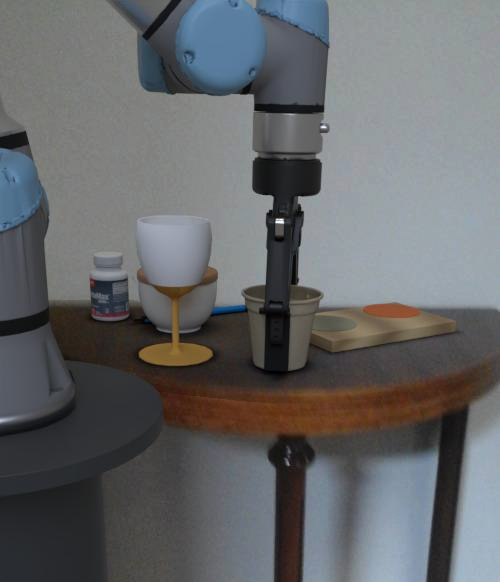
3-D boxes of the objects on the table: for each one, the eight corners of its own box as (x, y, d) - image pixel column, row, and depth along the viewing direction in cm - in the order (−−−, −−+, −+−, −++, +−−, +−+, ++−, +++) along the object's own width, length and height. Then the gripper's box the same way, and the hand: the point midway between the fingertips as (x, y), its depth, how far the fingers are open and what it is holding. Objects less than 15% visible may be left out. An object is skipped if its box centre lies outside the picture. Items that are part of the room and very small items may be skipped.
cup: (123, 359, 99) (117, 221, 93) (164, 341, 107) (161, 212, 100) (189, 370, 96) (187, 228, 89) (226, 351, 103) (227, 218, 97)
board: (332, 352, 103) (332, 340, 103) (276, 329, 113) (276, 317, 112) (455, 331, 113) (456, 320, 113) (394, 311, 123) (395, 301, 123)
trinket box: (126, 334, 109) (123, 262, 106) (156, 315, 119) (154, 248, 115) (203, 341, 107) (202, 268, 103) (227, 321, 116) (228, 253, 113)
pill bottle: (83, 317, 117) (80, 253, 114) (112, 310, 121) (109, 249, 117) (108, 324, 114) (105, 258, 111) (137, 317, 118) (134, 254, 114)
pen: (131, 318, 115) (134, 315, 114) (252, 305, 123) (255, 301, 122) (133, 324, 115) (135, 321, 114) (253, 310, 123) (256, 307, 122)
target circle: (388, 320, 112) (388, 319, 112) (351, 308, 119) (351, 307, 119) (432, 313, 116) (432, 313, 116) (394, 302, 123) (394, 301, 123)
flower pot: (262, 348, 104) (264, 280, 101) (331, 360, 100) (336, 289, 97) (225, 368, 96) (226, 294, 93) (299, 381, 92) (303, 305, 89)
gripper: (316, 164, 79) (305, 389, 88) (326, 151, 98) (316, 336, 107) (239, 161, 80) (235, 384, 89) (264, 149, 99) (259, 333, 108)
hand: (280, 358), depth 98 cm, fingers closed on flower pot, 8 cm apart
